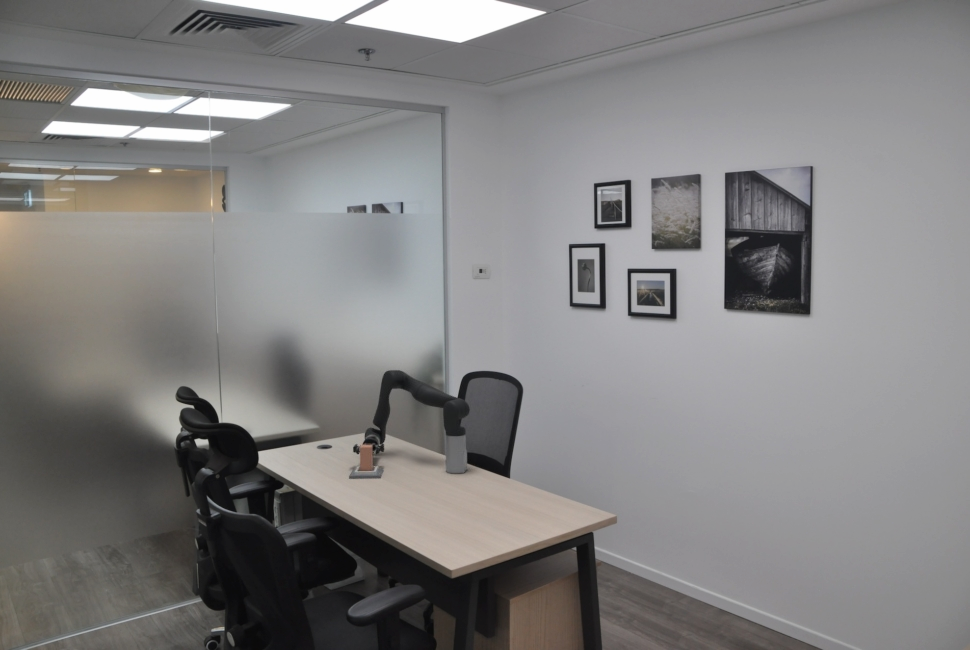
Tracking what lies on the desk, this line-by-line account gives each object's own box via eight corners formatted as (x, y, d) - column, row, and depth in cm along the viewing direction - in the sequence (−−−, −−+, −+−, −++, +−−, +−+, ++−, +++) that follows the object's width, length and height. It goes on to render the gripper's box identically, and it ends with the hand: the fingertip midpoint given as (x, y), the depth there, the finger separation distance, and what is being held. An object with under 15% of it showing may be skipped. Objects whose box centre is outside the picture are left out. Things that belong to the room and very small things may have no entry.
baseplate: (383, 470, 336) (383, 465, 336) (380, 478, 324) (380, 472, 324) (353, 471, 336) (353, 465, 336) (349, 478, 324) (349, 472, 324)
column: (372, 470, 333) (372, 444, 332) (371, 473, 328) (371, 447, 327) (361, 470, 333) (361, 444, 332) (360, 473, 328) (359, 447, 327)
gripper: (356, 436, 349) (351, 444, 333) (386, 435, 349) (382, 443, 333) (356, 451, 349) (351, 460, 333) (386, 451, 350) (382, 459, 334)
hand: (367, 452), depth 333 cm, fingers open, 8 cm apart
